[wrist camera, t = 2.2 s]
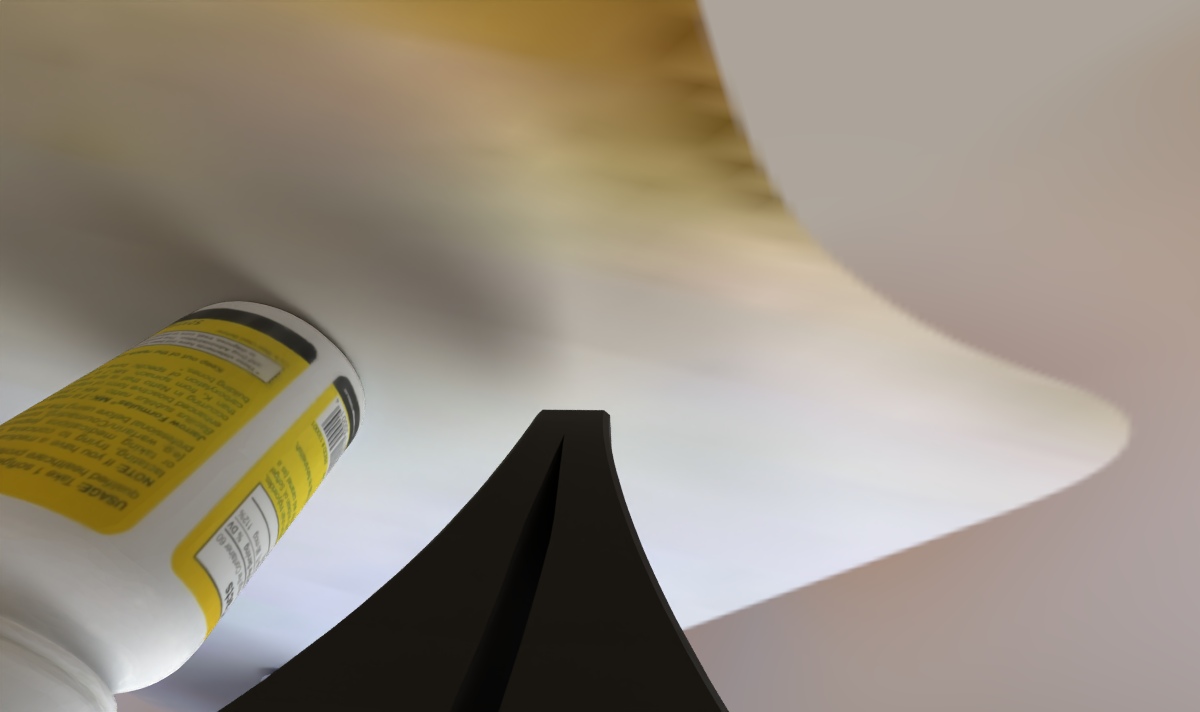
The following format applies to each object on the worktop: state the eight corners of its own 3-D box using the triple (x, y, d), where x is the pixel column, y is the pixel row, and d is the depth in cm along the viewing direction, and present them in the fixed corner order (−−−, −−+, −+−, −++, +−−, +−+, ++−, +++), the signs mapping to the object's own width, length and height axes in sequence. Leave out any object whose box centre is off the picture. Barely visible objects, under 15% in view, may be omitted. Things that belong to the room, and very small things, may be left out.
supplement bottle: (145, 334, 12) (-526, 714, 5) (281, 265, 11) (-368, 647, 4) (279, 466, 15) (-70, 862, 7) (407, 421, 13) (130, 850, 6)
